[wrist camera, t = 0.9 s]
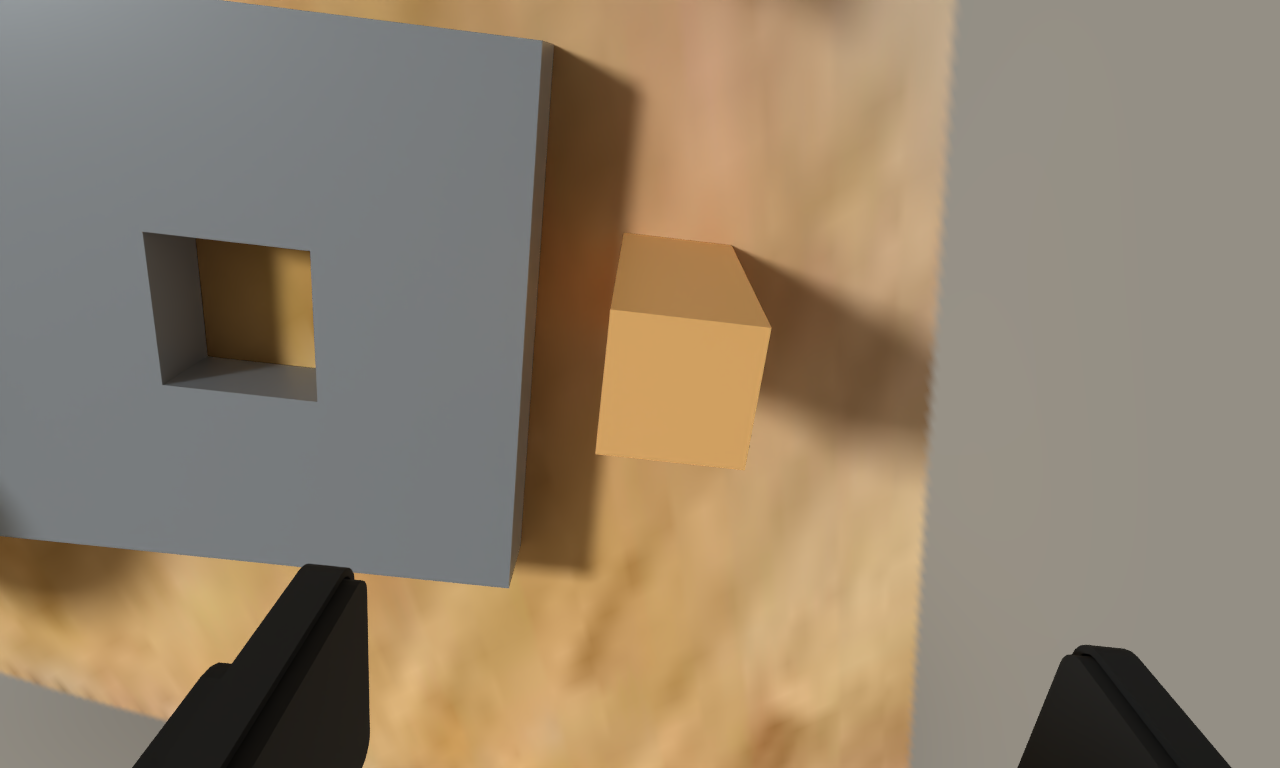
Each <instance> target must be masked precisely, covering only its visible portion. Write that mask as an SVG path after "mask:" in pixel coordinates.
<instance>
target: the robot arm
mask: <svg viewBox="0 0 1280 768" xmlns="http://www.w3.org/2000/svg"><path fill="white" fill-rule="evenodd" d="M369 738H370V716H369V666H368V616H367V586H366V583H365V581H361V580H354V574H353V571H352V569H350V568H347V567H337V566H328V565H318V564H309V563H308V564H305V565H304V566H303V567H302V568H301V569H300V570H299V571H298V573H297V574H296V575H295V577H294V578H293V580H292V581H291V582H290V584H289V585H288V586H287V588H286V589H285V591H284V592H283V593H282V595H281V596H280V598H279V599H278V600H277V602H276V603H275V605H274V606H273V607H272V609H271V610H270V612H269V613H268V614H267V616H266V617H265V618H264V620H263V621H262V623H261V624H260V625H259V627H258V628H257V630H256V631H255V632H254V634H253V635H252V637H251V638H250V639H249V641H248V642H247V643H246V645H245V646H244V648H243V649H242V650H241V652H240V653H239V655H238V656H237V657H236V659H235V660H234V662H233V663H232V664H228V663H217V664H215V665H213V666H211V667H210V668H209V669H208V670H207V671H206V672H205V673H204V674H203V675H202V676H201V677H200V679H199V680H198V681H197V683H196V684H195V685H194V687H193V688H192V689H191V691H190V692H189V693H188V695H187V696H186V697H185V699H184V700H183V701H182V702H181V704H180V705H179V706H178V708H177V709H176V710H175V712H174V713H173V714H172V716H171V717H170V718H169V720H168V721H167V722H166V724H165V725H164V726H163V728H162V729H161V730H160V732H159V733H158V734H157V736H156V737H155V738H154V740H153V741H152V742H151V743H150V745H149V746H148V748H147V749H146V750H145V752H144V753H143V754H142V755H141V757H140V758H139V759H138V761H137V762H136V763H135V765H134V766H133V767H132V768H362V767H363V764H364V761H365V758H366V754H367V750H368V746H369ZM1018 768H1231V767H1230V766H1229V764H1228V763H1227V762H1226V761H1225V760H1224V758H1223V757H1222V756H1221V755H1220V754H1219V753H1218V751H1217V750H1216V749H1215V748H1214V747H1213V745H1212V744H1211V743H1210V742H1209V741H1208V740H1207V738H1206V737H1205V736H1204V735H1203V734H1202V732H1201V731H1200V730H1199V729H1198V728H1197V726H1196V725H1195V724H1194V723H1193V722H1192V721H1191V719H1190V718H1189V717H1188V716H1187V715H1186V713H1185V712H1184V711H1183V710H1182V709H1181V708H1180V706H1179V705H1178V704H1177V703H1176V702H1175V701H1174V699H1173V698H1172V697H1171V696H1170V695H1169V693H1168V692H1167V691H1166V690H1165V689H1164V688H1163V686H1162V685H1161V684H1160V683H1159V682H1158V680H1157V679H1156V678H1155V677H1154V676H1153V675H1152V673H1151V672H1150V671H1149V670H1148V669H1147V667H1146V666H1145V665H1144V664H1143V663H1142V662H1141V660H1140V659H1139V658H1138V657H1137V656H1136V655H1135V654H1133V653H1132V652H1131V651H1129V650H1126V649H1121V648H1112V647H1101V646H1092V645H1081V646H1079V647H1078V648H1077V649H1075V650H1074V652H1073V654H1072V655H1066V656H1065V657H1064V658H1063V659H1062V661H1061V662H1060V665H1059V667H1058V670H1057V672H1056V675H1055V677H1054V680H1053V682H1052V685H1051V687H1050V689H1049V692H1048V694H1047V697H1046V699H1045V702H1044V704H1043V707H1042V709H1041V712H1040V714H1039V716H1038V719H1037V721H1036V724H1035V726H1034V729H1033V731H1032V734H1031V736H1030V739H1029V741H1028V743H1027V746H1026V748H1025V751H1024V753H1023V756H1022V758H1021V761H1020V763H1019V766H1018Z"/></svg>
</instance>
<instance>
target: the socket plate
mask: <svg viewBox="0 0 1280 768" xmlns="http://www.w3.org/2000/svg"><path fill="white" fill-rule="evenodd" d="M553 55H554V45H553V44H550V43H548V42H545V41H541V40H533V39H525V38H517V37H509V36H501V35H493V34H485V33H477V32H469V31H461V30H453V29H445V28H437V27H429V26H421V25H413V24H405V23H397V22H389V21H381V20H373V19H366V18H358V17H350V16H342V15H334V14H326V13H318V12H310V11H302V10H294V9H286V8H278V7H270V6H262V5H254V4H246V3H238V2H230V1H222V0H0V536H5V537H15V538H24V539H34V540H44V541H54V542H63V543H73V544H83V545H92V546H102V547H112V548H122V549H131V550H141V551H151V552H161V553H170V554H180V555H190V556H199V557H209V558H219V559H229V560H238V561H248V562H258V563H267V564H277V565H287V566H297V567H303V566H304V565H305V564H308V563H309V564H318V565H328V566H337V567H347V568H350V569H352V571H353V572H355V573H365V574H374V575H384V576H394V577H404V578H413V579H423V580H433V581H443V582H452V583H462V584H472V585H481V586H491V587H501V588H509V586H510V582H511V579H512V575H513V571H514V568H515V564H516V561H517V557H518V553H519V550H520V546H521V534H522V519H523V504H524V489H525V474H526V459H527V444H528V429H529V414H530V399H531V384H532V369H533V354H534V339H535V324H536V309H537V294H538V279H539V264H540V249H541V234H542V219H543V204H544V189H545V174H546V159H547V144H548V129H549V115H550V100H551V85H552V70H553ZM195 238H202V239H210V240H219V241H227V242H236V243H245V244H253V245H262V246H271V247H279V248H288V249H297V250H305V251H310V258H311V278H312V299H313V320H314V341H315V362H316V368H307V367H298V366H289V365H280V364H271V363H262V362H253V361H244V360H235V359H226V358H217V357H208V354H207V344H206V335H205V325H204V316H203V306H202V297H201V287H200V277H199V268H198V258H197V249H196V239H195Z"/></svg>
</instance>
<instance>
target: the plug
mask: <svg viewBox="0 0 1280 768" xmlns="http://www.w3.org/2000/svg"><path fill="white" fill-rule="evenodd" d="M770 333H771V326H770V324H769V322H768V320H767V318H766V316H765V314H764V311H763V309H762V307H761V305H760V303H759V301H758V299H757V297H756V295H755V293H754V291H753V289H752V287H751V285H750V282H749V280H748V278H747V276H746V274H745V272H744V270H743V268H742V266H741V264H740V262H739V260H738V258H737V256H736V254H735V251H734V249H733V247H732V245H725V244H716V243H708V242H699V241H691V240H682V239H674V238H665V237H657V236H648V235H640V234H632V233H624V234H623V240H622V246H621V251H620V257H619V263H618V269H617V274H616V280H615V286H614V291H613V297H612V303H611V309H610V318H609V327H608V337H607V346H606V356H605V365H604V375H603V384H602V394H601V404H600V413H599V423H598V432H597V442H596V451H595V454H600V455H609V456H618V457H627V458H636V459H645V460H655V461H664V462H673V463H682V464H691V465H700V466H710V467H719V468H728V469H737V470H745V465H746V460H747V455H748V450H749V444H750V439H751V434H752V428H753V423H754V418H755V413H756V407H757V402H758V397H759V391H760V386H761V381H762V376H763V370H764V365H765V360H766V354H767V349H768V344H769V338H770Z"/></svg>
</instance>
